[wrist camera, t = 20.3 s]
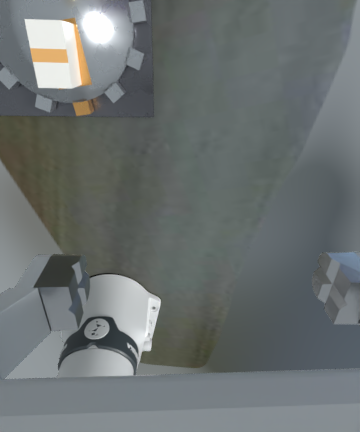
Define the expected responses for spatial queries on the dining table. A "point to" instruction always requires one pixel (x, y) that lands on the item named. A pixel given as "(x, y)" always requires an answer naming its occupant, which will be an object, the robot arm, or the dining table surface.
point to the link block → (54, 53)
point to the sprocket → (85, 41)
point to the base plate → (103, 107)
